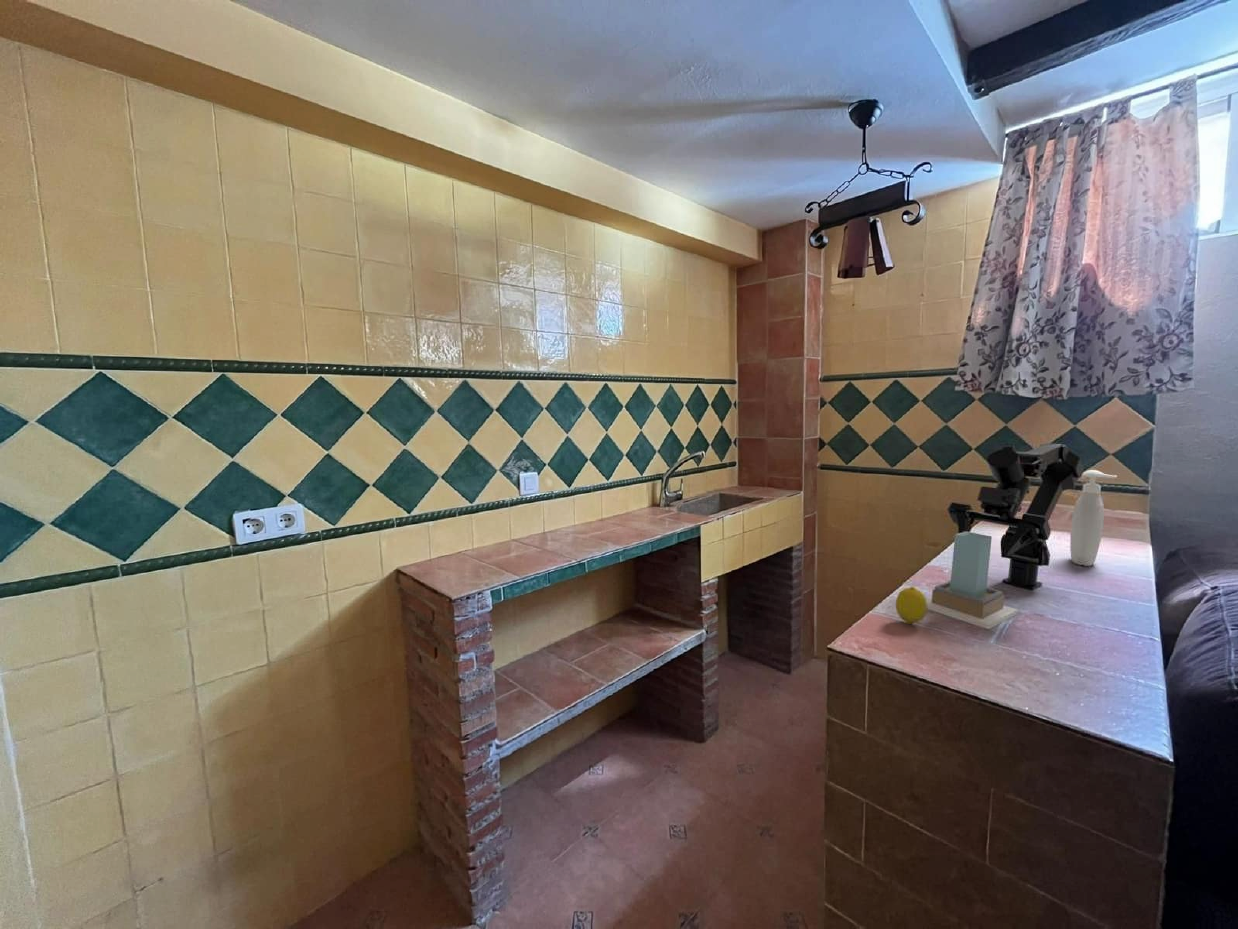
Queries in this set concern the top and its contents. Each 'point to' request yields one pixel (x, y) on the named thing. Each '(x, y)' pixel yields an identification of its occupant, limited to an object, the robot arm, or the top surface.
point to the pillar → (970, 564)
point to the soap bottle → (1087, 521)
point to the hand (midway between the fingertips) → (982, 549)
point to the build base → (974, 619)
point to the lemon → (911, 605)
